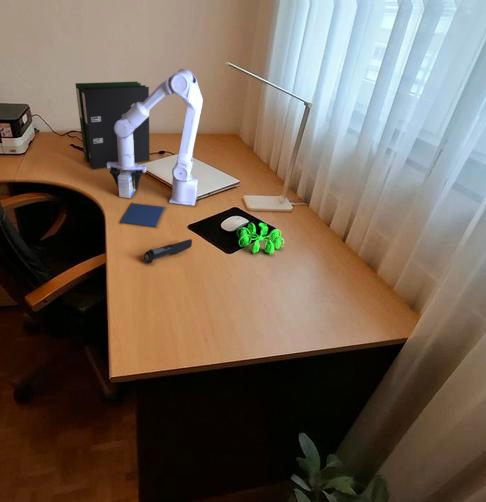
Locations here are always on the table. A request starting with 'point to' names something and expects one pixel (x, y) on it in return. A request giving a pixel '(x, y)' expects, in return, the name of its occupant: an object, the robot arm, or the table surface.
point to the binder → (109, 120)
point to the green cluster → (260, 238)
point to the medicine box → (126, 183)
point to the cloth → (142, 215)
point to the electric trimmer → (166, 250)
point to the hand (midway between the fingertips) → (127, 187)
